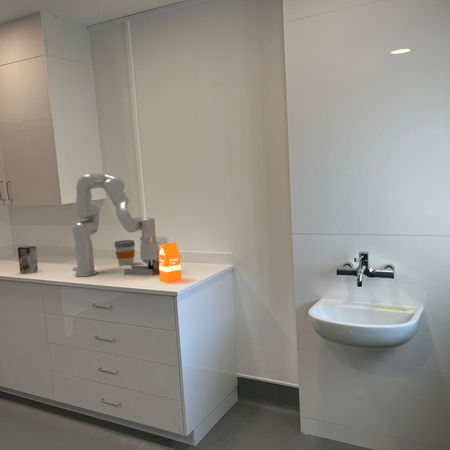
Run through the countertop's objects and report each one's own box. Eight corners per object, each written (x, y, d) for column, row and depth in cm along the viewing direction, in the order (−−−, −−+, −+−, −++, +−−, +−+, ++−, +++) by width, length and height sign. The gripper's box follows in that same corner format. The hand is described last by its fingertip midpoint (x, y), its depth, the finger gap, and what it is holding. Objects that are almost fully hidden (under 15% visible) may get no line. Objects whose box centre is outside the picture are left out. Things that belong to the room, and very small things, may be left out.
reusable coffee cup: (139, 262, 303) (137, 239, 302) (131, 266, 291) (130, 242, 289) (120, 263, 306) (119, 240, 304) (112, 267, 293) (111, 243, 292)
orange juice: (181, 280, 246) (179, 243, 244) (167, 283, 241) (164, 245, 239) (174, 278, 253) (172, 241, 250) (160, 281, 248) (157, 243, 245)
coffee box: (19, 273, 289) (17, 247, 287) (27, 271, 295) (24, 245, 293) (31, 273, 285) (28, 247, 284) (38, 271, 291) (36, 245, 290)
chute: (124, 275, 265) (123, 269, 265) (132, 272, 274) (132, 265, 273) (152, 276, 259) (151, 269, 258) (160, 273, 267) (159, 266, 267)
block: (154, 274, 260) (153, 262, 259) (159, 272, 266) (158, 260, 265) (163, 275, 258) (162, 262, 257) (168, 272, 264) (167, 260, 263)
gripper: (134, 240, 261) (136, 273, 263) (157, 240, 256) (160, 273, 258) (140, 238, 268) (143, 270, 270) (164, 238, 263) (166, 270, 265)
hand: (151, 271), depth 264 cm, fingers closed
